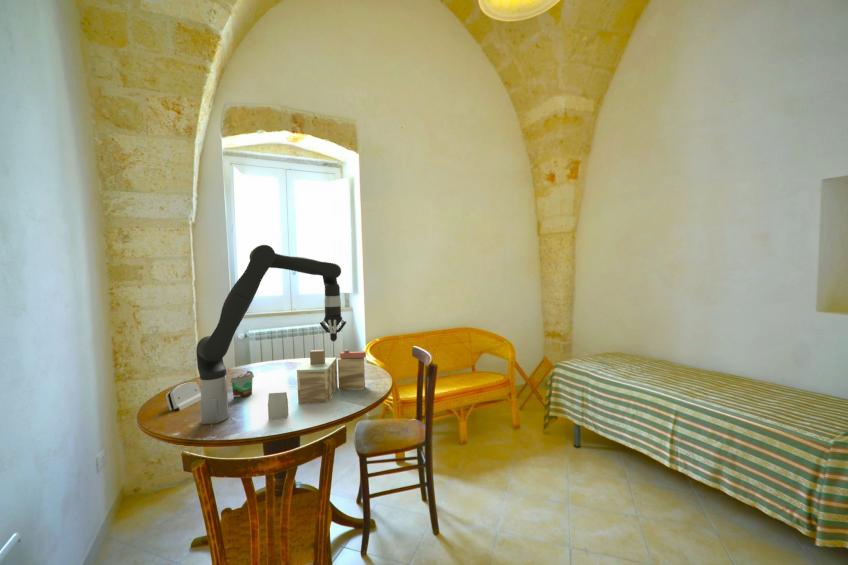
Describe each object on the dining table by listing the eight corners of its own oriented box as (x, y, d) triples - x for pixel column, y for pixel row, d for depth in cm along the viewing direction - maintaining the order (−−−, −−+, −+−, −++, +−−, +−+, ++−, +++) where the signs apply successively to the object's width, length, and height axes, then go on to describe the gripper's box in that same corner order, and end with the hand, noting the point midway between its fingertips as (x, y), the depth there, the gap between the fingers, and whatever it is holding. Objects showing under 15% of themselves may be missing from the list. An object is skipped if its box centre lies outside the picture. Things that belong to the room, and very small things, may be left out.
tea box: (286, 418, 150) (285, 393, 149) (268, 419, 149) (267, 395, 148) (288, 414, 153) (287, 390, 153) (271, 416, 153) (270, 391, 152)
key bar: (365, 357, 181) (365, 350, 181) (340, 358, 181) (339, 350, 181) (365, 356, 183) (365, 348, 183) (341, 357, 183) (340, 349, 183)
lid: (326, 373, 165) (326, 355, 164) (297, 374, 164) (296, 356, 164) (336, 361, 185) (336, 345, 184) (310, 361, 184) (309, 346, 184)
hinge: (180, 410, 160) (171, 389, 160) (170, 414, 161) (161, 392, 161) (206, 396, 177) (198, 377, 177) (197, 400, 178) (189, 380, 177)
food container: (243, 400, 171) (242, 378, 170) (231, 399, 172) (230, 378, 172) (260, 391, 183) (259, 370, 183) (249, 390, 184) (248, 370, 184)
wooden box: (358, 401, 166) (357, 367, 165) (298, 403, 165) (296, 369, 164) (365, 386, 186) (364, 356, 185) (311, 388, 185) (309, 358, 184)
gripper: (316, 306, 177) (317, 343, 178) (345, 305, 177) (346, 342, 178) (320, 304, 184) (322, 339, 185) (348, 304, 184) (349, 339, 185)
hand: (333, 341), depth 181 cm, fingers closed
